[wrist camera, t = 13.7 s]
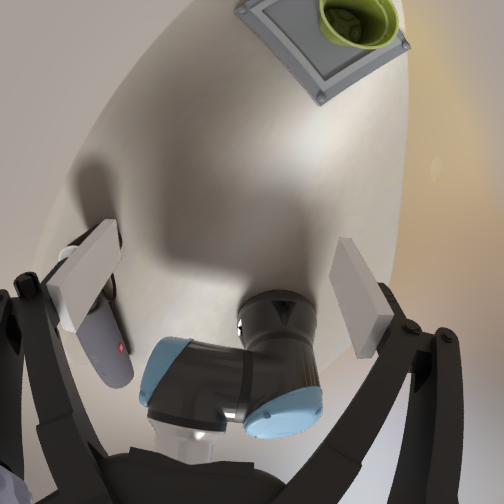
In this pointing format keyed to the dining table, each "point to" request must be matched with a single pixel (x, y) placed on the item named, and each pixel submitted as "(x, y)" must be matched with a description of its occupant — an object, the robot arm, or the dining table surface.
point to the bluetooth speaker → (105, 345)
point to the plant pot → (359, 22)
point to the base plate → (313, 46)
